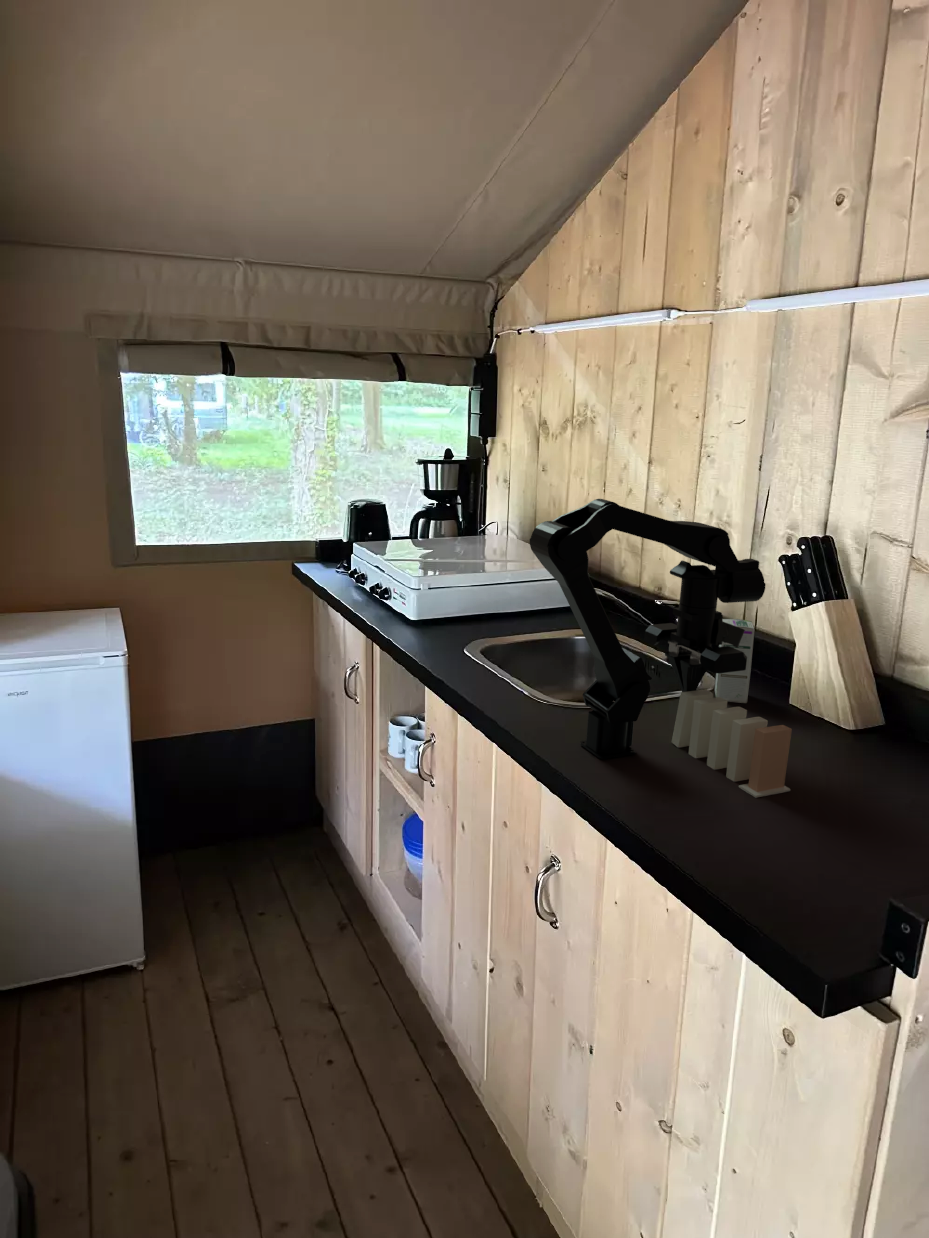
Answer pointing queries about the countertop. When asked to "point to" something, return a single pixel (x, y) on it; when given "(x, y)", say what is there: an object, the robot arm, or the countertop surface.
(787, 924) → the countertop surface
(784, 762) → the domino
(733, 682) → the syrup box
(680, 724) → the domino
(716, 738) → the domino
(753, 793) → the plate
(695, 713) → the domino
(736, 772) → the domino
